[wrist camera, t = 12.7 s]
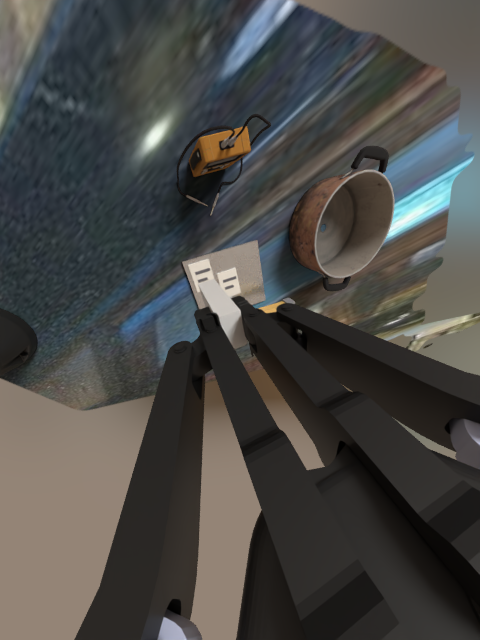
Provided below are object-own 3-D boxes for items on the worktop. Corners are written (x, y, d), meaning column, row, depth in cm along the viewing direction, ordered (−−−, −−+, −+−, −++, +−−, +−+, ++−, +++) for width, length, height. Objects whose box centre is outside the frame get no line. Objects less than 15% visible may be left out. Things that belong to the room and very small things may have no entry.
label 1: (197, 292, 47) (197, 292, 47) (187, 265, 44) (188, 265, 43) (216, 285, 48) (216, 286, 48) (208, 258, 45) (208, 259, 44)
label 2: (223, 298, 51) (224, 298, 50) (216, 273, 47) (217, 274, 47) (240, 292, 52) (241, 293, 51) (235, 267, 48) (235, 268, 47)
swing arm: (236, 325, 49) (240, 330, 46) (234, 311, 46) (238, 316, 44) (288, 309, 52) (294, 313, 50) (289, 296, 50) (295, 300, 48)
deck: (204, 324, 53) (209, 337, 48) (181, 261, 44) (184, 268, 38) (264, 302, 57) (276, 312, 51) (255, 239, 47) (268, 243, 41)
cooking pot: (299, 151, 41) (336, 134, 33) (372, 163, 48) (418, 153, 40) (280, 283, 56) (302, 296, 47) (338, 278, 63) (367, 288, 54)
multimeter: (189, 222, 41) (208, 228, 24) (169, 164, 35) (174, 121, 19) (251, 203, 43) (305, 197, 27) (240, 146, 37) (301, 93, 21)
